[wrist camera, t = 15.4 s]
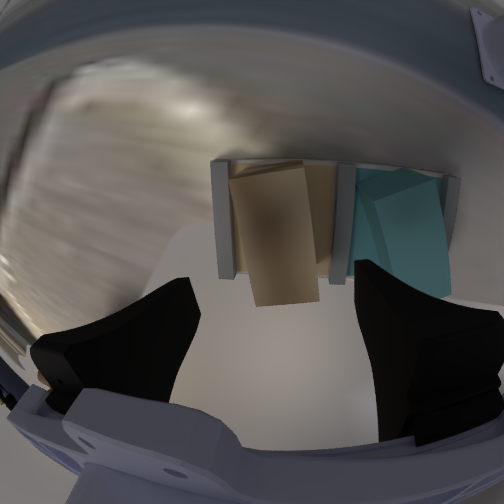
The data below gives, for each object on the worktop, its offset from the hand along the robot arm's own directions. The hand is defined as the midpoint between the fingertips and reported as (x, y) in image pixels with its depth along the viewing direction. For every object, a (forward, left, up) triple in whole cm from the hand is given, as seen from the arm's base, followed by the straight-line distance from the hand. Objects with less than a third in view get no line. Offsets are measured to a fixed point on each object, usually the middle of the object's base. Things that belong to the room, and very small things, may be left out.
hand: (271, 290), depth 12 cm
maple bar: (0, 0, -9) cm, 9 cm away
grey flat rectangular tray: (-4, 0, -10) cm, 11 cm away
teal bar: (-9, 0, -9) cm, 13 cm away
